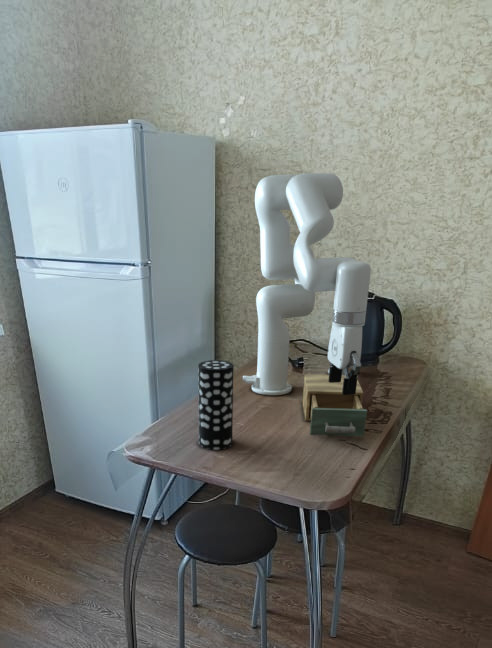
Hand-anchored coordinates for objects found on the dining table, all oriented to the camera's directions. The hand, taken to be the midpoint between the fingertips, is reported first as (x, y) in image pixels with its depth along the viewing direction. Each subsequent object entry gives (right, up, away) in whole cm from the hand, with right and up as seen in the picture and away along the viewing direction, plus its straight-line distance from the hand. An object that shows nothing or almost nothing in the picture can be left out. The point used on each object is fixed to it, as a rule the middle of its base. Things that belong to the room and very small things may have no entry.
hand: (341, 388), depth 143 cm
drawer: (0, -10, +7) cm, 12 cm away
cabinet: (+2, -3, +21) cm, 21 cm away
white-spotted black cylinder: (-31, -14, +2) cm, 34 cm away
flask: (+12, +13, +54) cm, 57 cm away
